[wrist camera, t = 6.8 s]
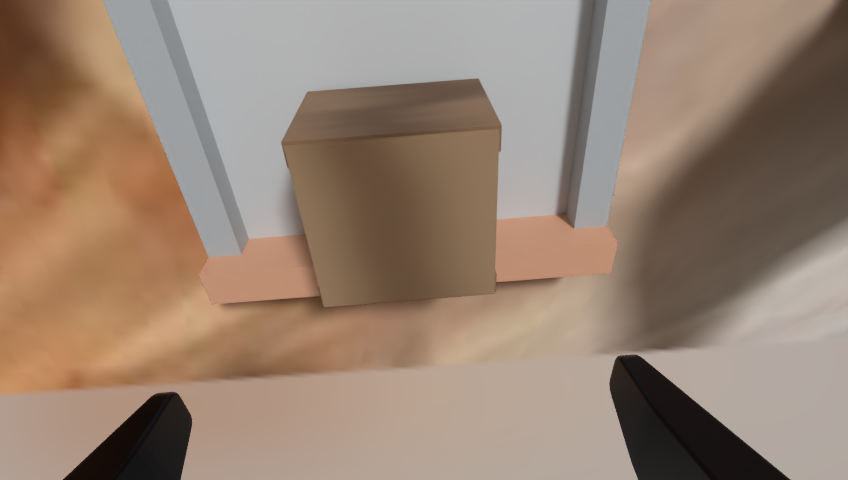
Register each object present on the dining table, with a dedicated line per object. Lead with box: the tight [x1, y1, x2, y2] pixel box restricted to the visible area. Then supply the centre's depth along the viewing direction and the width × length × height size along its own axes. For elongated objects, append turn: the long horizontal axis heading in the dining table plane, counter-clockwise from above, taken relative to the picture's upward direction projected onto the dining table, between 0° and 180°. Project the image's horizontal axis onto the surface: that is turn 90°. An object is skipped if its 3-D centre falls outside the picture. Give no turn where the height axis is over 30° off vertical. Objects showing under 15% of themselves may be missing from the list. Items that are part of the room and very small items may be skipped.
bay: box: [103, 0, 651, 304], centre depth 16 cm, size 17×18×3 cm
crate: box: [281, 78, 502, 307], centre depth 17 cm, size 6×6×5 cm
